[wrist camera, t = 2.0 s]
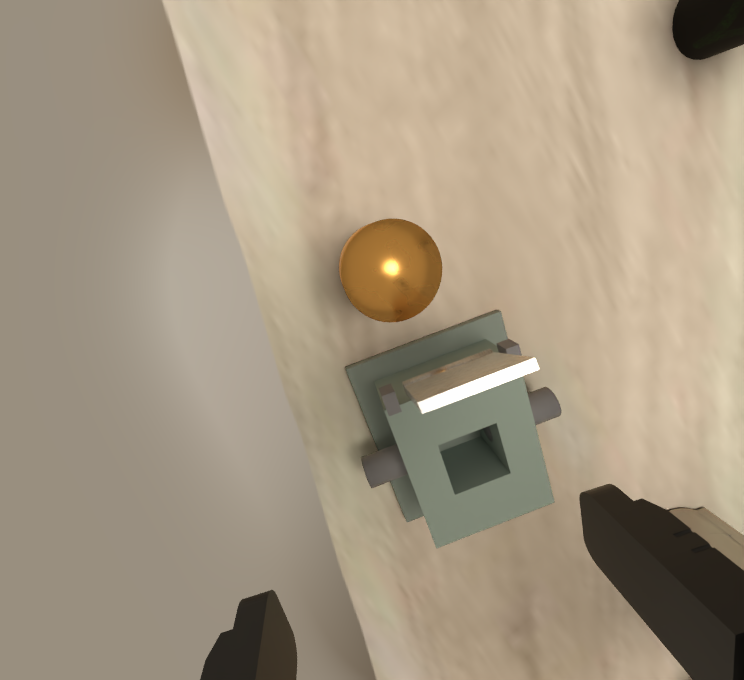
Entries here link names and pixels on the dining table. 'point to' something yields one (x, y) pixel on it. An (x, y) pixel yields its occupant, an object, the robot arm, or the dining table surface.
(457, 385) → the bar
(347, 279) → the orange domed cylinder
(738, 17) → the cup
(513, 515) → the grey-green knobbed device
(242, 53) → the dining table surface
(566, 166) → the dining table surface
